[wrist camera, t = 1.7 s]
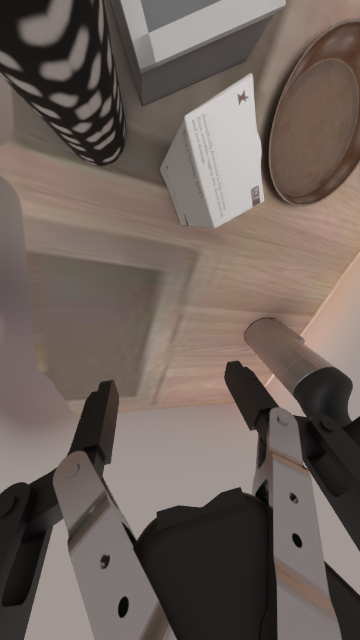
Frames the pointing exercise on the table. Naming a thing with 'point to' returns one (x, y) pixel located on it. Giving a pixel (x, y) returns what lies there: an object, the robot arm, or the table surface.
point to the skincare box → (216, 159)
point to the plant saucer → (318, 119)
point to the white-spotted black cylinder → (66, 72)
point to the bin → (187, 39)
